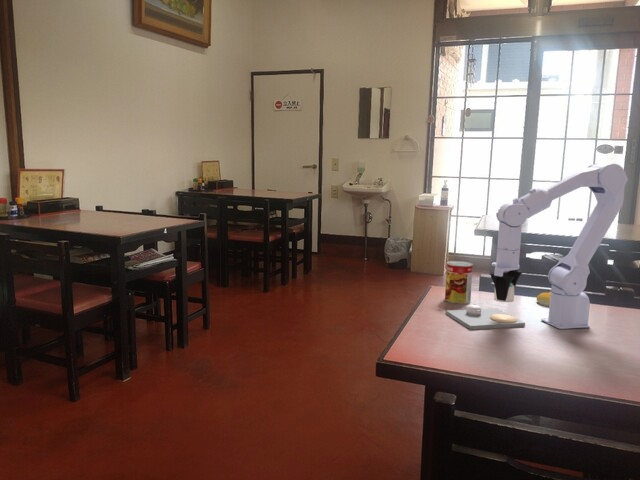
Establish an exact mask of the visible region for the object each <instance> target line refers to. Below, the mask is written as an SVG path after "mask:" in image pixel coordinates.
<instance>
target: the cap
mask: <svg viewBox="0 0 640 480" xmlns="http://www.w3.org/2000/svg"><path fill="white" fill-rule="evenodd" d="M493 291H494V293H493V295H494V296H493V299H494V301H496V302H499V303H512V302H515V289H514V285H513V283H511V284H510V286H509V290H508V295H507V298H506V301H502V300H497V296H496V290H495V289H494V290H493Z"/></svg>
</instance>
